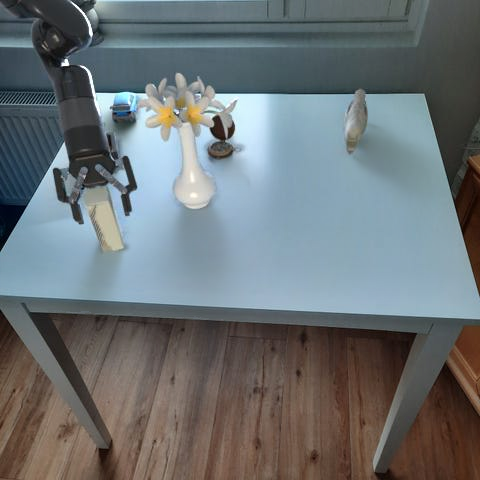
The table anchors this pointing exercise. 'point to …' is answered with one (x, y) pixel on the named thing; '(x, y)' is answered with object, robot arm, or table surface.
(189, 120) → the flower vase
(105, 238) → the box
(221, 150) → the compass
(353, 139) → the decorative bird
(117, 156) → the holder
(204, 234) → the table surface
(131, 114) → the toy car
